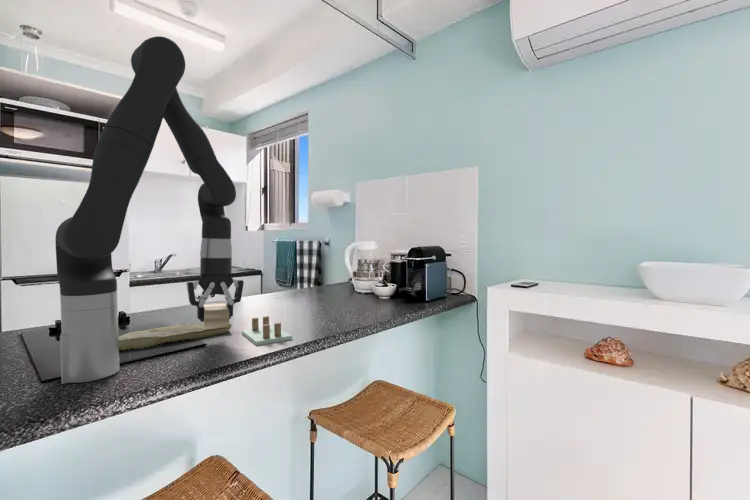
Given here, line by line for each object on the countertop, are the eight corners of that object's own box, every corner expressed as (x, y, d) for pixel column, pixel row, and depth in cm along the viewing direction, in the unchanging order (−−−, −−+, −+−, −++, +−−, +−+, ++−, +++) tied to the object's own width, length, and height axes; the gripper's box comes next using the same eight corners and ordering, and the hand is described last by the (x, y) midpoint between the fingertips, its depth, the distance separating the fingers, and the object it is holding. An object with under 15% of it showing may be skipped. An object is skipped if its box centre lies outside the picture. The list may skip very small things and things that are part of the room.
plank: (229, 326, 90) (229, 310, 90) (204, 328, 88) (205, 312, 88) (224, 316, 103) (224, 302, 103) (202, 318, 100) (203, 303, 100)
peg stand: (292, 339, 101) (292, 323, 101) (256, 345, 95) (255, 328, 95) (274, 328, 112) (274, 314, 112) (241, 333, 107) (241, 318, 106)
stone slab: (106, 333, 98) (222, 313, 117) (108, 348, 98) (223, 326, 117) (109, 342, 88) (234, 320, 107) (110, 359, 89) (235, 334, 107)
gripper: (187, 256, 88) (187, 325, 88) (248, 256, 96) (247, 319, 96) (183, 255, 94) (182, 320, 94) (240, 255, 102) (239, 315, 102)
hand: (215, 319), depth 95 cm, fingers closed on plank, 6 cm apart
